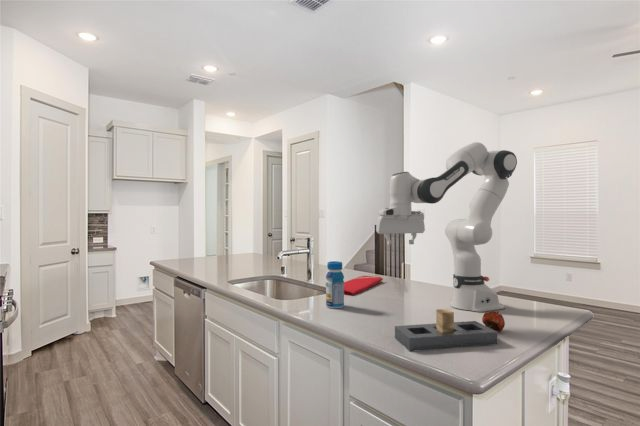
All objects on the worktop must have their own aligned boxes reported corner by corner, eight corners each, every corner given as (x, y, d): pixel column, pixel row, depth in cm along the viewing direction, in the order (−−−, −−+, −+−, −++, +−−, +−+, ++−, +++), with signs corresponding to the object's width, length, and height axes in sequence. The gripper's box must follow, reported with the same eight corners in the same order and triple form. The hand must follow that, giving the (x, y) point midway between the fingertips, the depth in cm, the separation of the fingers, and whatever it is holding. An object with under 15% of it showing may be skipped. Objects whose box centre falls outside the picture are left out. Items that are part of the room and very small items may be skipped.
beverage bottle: (341, 309, 160) (341, 263, 160) (323, 307, 163) (322, 263, 163) (346, 304, 168) (346, 261, 168) (329, 303, 171) (329, 260, 170)
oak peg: (447, 338, 123) (447, 308, 123) (453, 342, 119) (453, 312, 119) (436, 339, 122) (436, 309, 122) (442, 343, 118) (442, 312, 118)
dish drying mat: (326, 293, 193) (326, 286, 193) (359, 280, 228) (359, 274, 228) (353, 297, 185) (353, 289, 185) (383, 283, 220) (383, 277, 220)
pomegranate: (500, 342, 126) (514, 320, 129) (489, 326, 124) (503, 305, 128) (482, 337, 132) (496, 317, 136) (472, 323, 131) (486, 303, 135)
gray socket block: (475, 332, 129) (475, 320, 129) (497, 344, 117) (497, 331, 117) (394, 337, 124) (394, 326, 124) (409, 351, 112) (409, 338, 112)
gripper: (420, 211, 156) (420, 243, 156) (374, 211, 153) (374, 244, 153) (427, 210, 150) (427, 244, 150) (379, 211, 146) (380, 245, 146)
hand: (400, 244), depth 151 cm, fingers open, 8 cm apart
